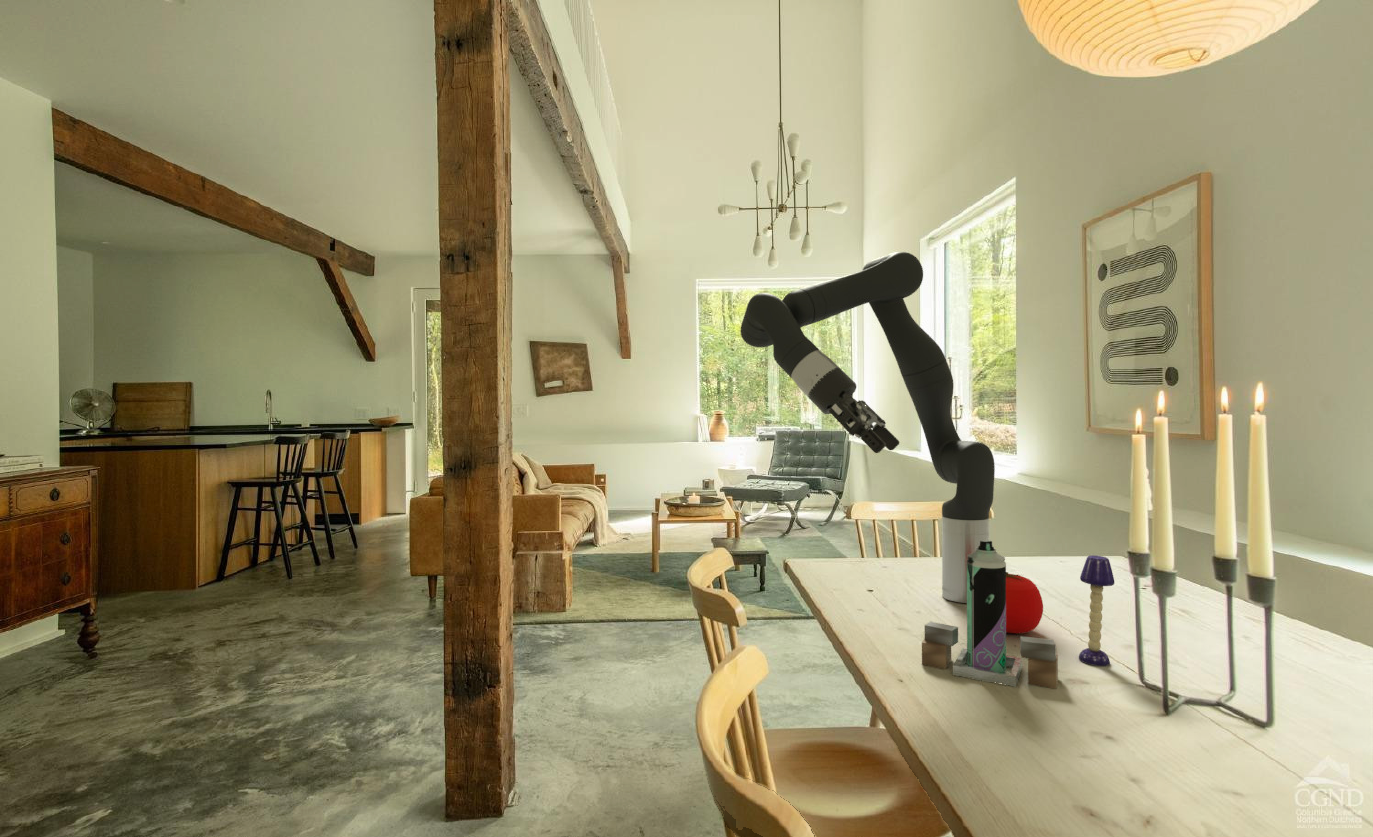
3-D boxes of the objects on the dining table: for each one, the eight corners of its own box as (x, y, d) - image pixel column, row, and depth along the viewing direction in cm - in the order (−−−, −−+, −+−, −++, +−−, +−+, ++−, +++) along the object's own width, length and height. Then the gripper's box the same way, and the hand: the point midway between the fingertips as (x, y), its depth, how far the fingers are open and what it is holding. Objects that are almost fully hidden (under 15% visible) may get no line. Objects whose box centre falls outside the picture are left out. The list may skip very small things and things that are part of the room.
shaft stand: (921, 664, 108) (921, 627, 108) (928, 656, 112) (927, 620, 112) (1055, 689, 98) (1055, 648, 98) (1057, 678, 102) (1057, 639, 102)
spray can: (989, 680, 101) (989, 545, 101) (959, 668, 106) (958, 539, 106) (1014, 673, 104) (1013, 542, 104) (983, 662, 109) (983, 536, 108)
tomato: (1051, 629, 124) (1051, 572, 124) (1031, 646, 116) (1031, 584, 116) (984, 616, 133) (983, 562, 132) (960, 631, 124) (960, 573, 124)
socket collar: (952, 675, 103) (952, 665, 103) (963, 657, 111) (963, 648, 111) (1015, 687, 99) (1015, 676, 99) (1022, 667, 106) (1022, 658, 106)
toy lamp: (1110, 658, 110) (1110, 554, 110) (1117, 669, 105) (1117, 560, 105) (1076, 655, 111) (1076, 552, 111) (1082, 665, 107) (1082, 558, 107)
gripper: (823, 364, 113) (893, 434, 108) (850, 368, 126) (915, 431, 120) (793, 396, 116) (860, 466, 110) (822, 397, 128) (884, 460, 123)
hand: (888, 448), depth 115 cm, fingers open, 8 cm apart
